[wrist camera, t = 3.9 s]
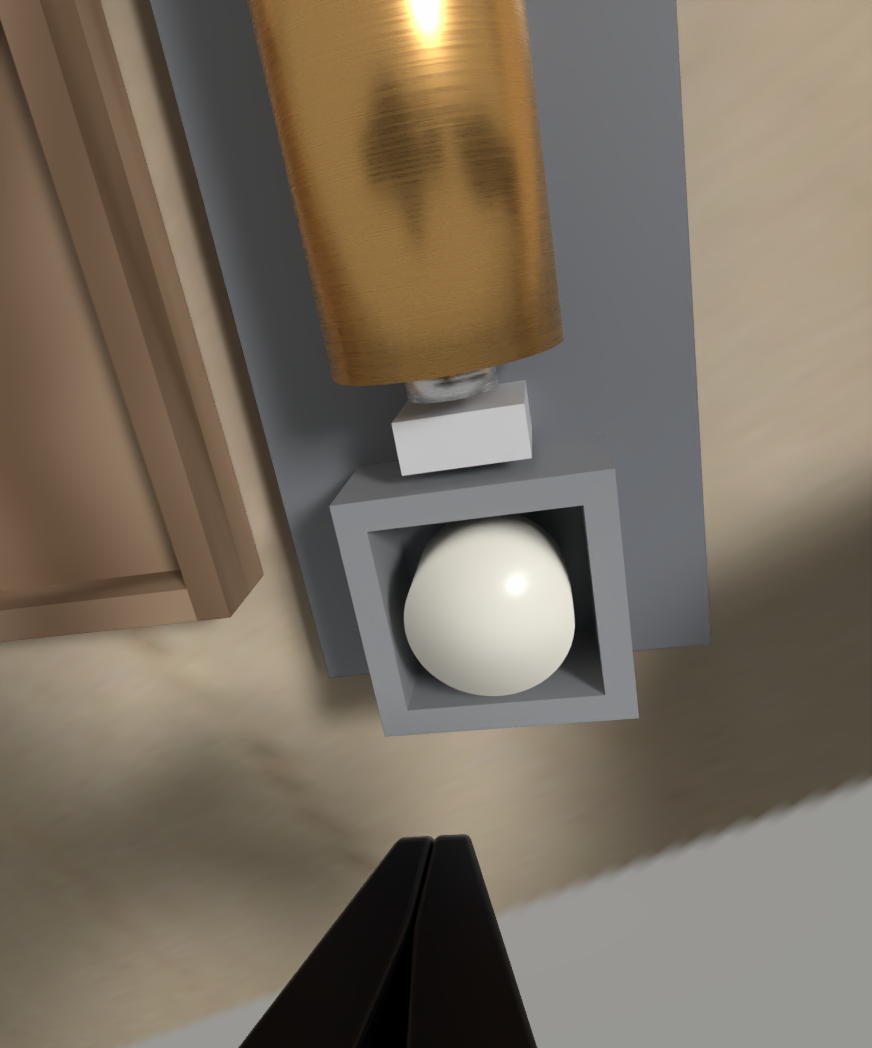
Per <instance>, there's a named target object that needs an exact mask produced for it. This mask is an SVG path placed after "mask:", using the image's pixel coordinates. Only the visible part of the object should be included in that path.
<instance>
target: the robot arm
mask: <svg viewBox="0 0 872 1048" xmlns="http://www.w3.org/2000/svg"><path fill="white" fill-rule="evenodd" d="M239 1048H537V1046H536V1043H535V1040H534V1037H533V1033H532V1030H531V1027H530V1024H529V1021H528V1018H527V1015H526V1011H525V1008H524V1005H523V1002H522V999H521V995H520V993H519V989H518V986H517V983H516V980H515V977H514V974H513V970H512V967H511V964H510V961H509V958H508V954H507V952H506V948H505V945H504V942H503V939H502V936H501V932H500V930H499V926H498V923H497V920H496V917H495V913H494V910H493V907H492V904H491V901H490V898H489V894H488V891H487V888H486V885H485V882H484V879H483V876H482V872H481V869H480V866H479V863H478V860H477V857H476V853H475V850H474V847H473V844H472V841H471V839H470V837H469V836H468V835H465V834H461V835H441V836H438V837H437V838H436V839H435V840H434V839H433V838H432V837H429V836H422V837H404V838H401V839H399V840H398V841H397V842H396V843H395V844H394V845H393V847H392V848H391V849H390V851H389V852H388V853H387V855H386V856H385V857H384V859H383V860H382V861H381V862H380V864H379V865H378V866H377V868H376V869H375V870H374V872H373V873H372V874H371V875H370V877H369V878H368V879H367V881H366V882H365V883H364V885H363V886H362V887H361V889H360V890H359V891H358V892H357V894H356V895H355V896H354V898H353V899H352V900H351V902H350V903H349V904H348V905H347V907H346V908H345V909H344V911H343V912H342V913H341V915H340V916H339V917H338V919H337V920H336V921H335V922H334V924H333V925H332V926H331V928H330V929H329V930H328V932H327V933H326V934H325V935H324V937H323V938H322V939H321V941H320V942H319V943H318V945H317V946H316V947H315V949H314V950H313V951H312V952H311V954H310V955H309V956H308V958H307V959H306V960H305V962H304V963H303V964H302V966H301V967H300V968H299V969H298V971H297V972H296V973H295V975H294V976H293V977H292V979H291V980H290V981H289V982H288V984H287V985H286V986H285V988H284V989H283V990H282V992H281V993H280V994H279V996H278V997H277V998H276V999H275V1001H274V1002H273V1003H272V1005H271V1006H270V1007H269V1009H268V1010H267V1011H266V1012H265V1014H264V1015H263V1017H262V1018H261V1019H260V1020H259V1022H258V1023H257V1024H256V1026H255V1027H254V1028H253V1029H252V1031H251V1032H250V1033H249V1035H248V1036H247V1037H246V1039H245V1040H244V1041H243V1043H242V1044H241V1045H240V1046H239Z"/></svg>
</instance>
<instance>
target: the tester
mask: <svg viewBox="0 0 872 1048" xmlns="http://www.w3.org/2000/svg"><path fill="white" fill-rule="evenodd" d="M150 3H151V6H152V10H153V14H154V18H155V22H156V25H157V29H158V33H159V37H160V40H161V44H162V48H163V52H164V56H165V59H166V63H167V67H168V71H169V74H170V78H171V82H172V86H173V89H174V93H175V97H176V101H177V105H178V108H179V112H180V116H181V120H182V123H183V127H184V131H185V135H186V139H187V142H188V146H189V150H190V154H191V157H192V161H193V165H194V169H195V173H196V176H197V180H198V184H199V188H200V191H201V195H202V199H203V203H204V206H205V210H206V214H207V218H208V222H209V225H210V229H211V233H212V237H213V240H214V244H215V248H216V252H217V256H218V259H219V263H220V267H221V271H222V274H223V278H224V282H225V286H226V290H227V293H228V297H229V301H230V305H231V308H232V312H233V316H234V320H235V323H236V327H237V331H238V335H239V339H240V342H241V346H242V350H243V354H244V357H245V361H246V365H247V369H248V373H249V376H250V380H251V384H252V388H253V391H254V395H255V399H256V403H257V407H258V410H259V414H260V418H261V422H262V425H263V429H264V433H265V437H266V440H267V444H268V448H269V452H270V456H271V459H272V463H273V467H274V471H275V474H276V478H277V482H278V486H279V490H280V493H281V497H282V501H283V505H284V508H285V512H286V516H287V520H288V524H289V527H290V531H291V535H292V539H293V542H294V546H295V550H296V554H297V557H298V561H299V565H300V569H301V573H302V576H303V580H304V584H305V588H306V591H307V595H308V599H309V603H310V607H311V610H312V614H313V618H314V622H315V625H316V629H317V633H318V637H319V641H320V644H321V648H322V652H323V656H324V659H325V663H326V667H327V671H328V675H329V678H331V677H342V676H353V675H365V674H370V676H371V680H372V684H373V689H374V693H375V697H376V701H377V705H378V709H379V713H380V717H381V722H382V726H383V730H384V734H385V737H387V736H401V735H415V734H429V733H442V732H456V731H470V730H484V729H498V728H512V727H525V726H539V725H553V724H567V723H581V722H595V721H609V720H622V719H636V718H639V711H638V701H637V691H636V681H635V670H634V660H633V651H637V650H649V649H660V648H671V647H683V646H694V645H705V644H711V633H710V615H709V596H708V578H707V560H706V541H705V523H704V504H703V486H702V468H701V449H700V431H699V412H698V394H697V376H696V357H695V339H694V320H693V302H692V284H691V265H690V247H689V228H688V210H687V192H686V173H685V155H684V136H683V118H682V99H681V81H680V63H679V44H678V26H677V7H676V0H525V3H526V11H527V20H528V29H529V38H530V46H531V55H532V64H533V72H534V81H535V90H536V99H537V107H538V116H539V125H540V133H541V142H542V151H543V160H544V168H545V177H546V186H547V195H548V203H549V212H550V221H551V229H552V238H553V247H554V256H555V264H556V273H557V282H558V290H559V299H560V308H561V317H562V325H563V334H564V340H563V341H562V343H560V344H559V345H557V346H555V347H553V348H551V349H549V350H547V351H544V352H541V353H539V354H536V355H533V356H530V357H527V358H523V359H520V360H517V361H513V362H509V363H505V364H502V365H498V366H496V372H497V379H498V386H497V387H495V388H494V389H492V390H490V391H487V392H484V393H481V394H478V395H475V396H471V397H467V398H462V399H457V400H452V401H445V402H437V403H413V402H410V401H408V396H407V391H406V386H405V382H404V383H395V384H385V385H369V386H349V385H341V384H337V383H335V382H334V381H333V378H332V374H331V369H330V365H329V360H328V356H327V351H326V347H325V343H324V338H323V334H322V329H321V325H320V320H319V316H318V312H317V307H316V303H315V298H314V294H313V289H312V285H311V281H310V276H309V272H308V267H307V263H306V258H305V254H304V250H303V245H302V241H301V236H300V232H299V228H298V223H297V219H296V214H295V210H294V205H293V201H292V197H291V192H290V188H289V183H288V179H287V174H286V170H285V166H284V161H283V157H282V152H281V148H280V143H279V139H278V135H277V130H276V126H275V121H274V117H273V113H272V108H271V104H270V99H269V95H268V90H267V86H266V82H265V77H264V73H263V68H262V64H261V59H260V55H259V51H258V46H257V42H256V37H255V33H254V28H253V24H252V20H251V15H250V11H249V6H248V2H247V0H150ZM508 514H517V515H520V516H523V517H525V518H527V519H529V520H532V521H533V522H535V523H536V524H538V525H540V526H541V527H542V528H543V529H545V530H546V531H547V532H548V533H549V534H550V535H551V536H552V537H553V538H554V539H555V541H556V542H557V543H558V545H559V546H560V548H561V550H562V551H563V553H564V555H565V558H566V561H567V563H568V568H569V573H570V581H571V590H572V599H573V608H574V619H575V629H574V637H573V641H572V645H571V647H570V650H569V652H568V654H567V656H566V658H565V659H564V661H563V662H562V664H561V665H560V666H559V667H558V669H557V670H556V671H555V672H554V673H553V674H552V675H551V676H549V677H548V678H547V679H545V680H544V681H543V682H541V683H540V684H538V685H536V686H534V687H532V688H530V689H527V690H525V691H522V692H519V693H515V694H511V695H504V696H482V695H475V694H470V693H466V692H463V691H460V690H457V689H455V688H453V687H451V686H448V685H447V684H445V683H443V682H442V681H440V680H438V679H437V678H436V677H434V676H433V675H432V674H431V673H430V672H429V671H427V670H426V669H425V668H424V667H423V665H422V664H421V663H420V662H419V660H418V659H417V658H416V656H415V654H414V653H413V651H412V649H411V647H410V645H409V643H408V640H407V636H406V633H405V627H404V609H405V603H406V599H407V596H408V593H409V590H410V587H411V584H412V581H413V578H414V576H415V573H416V570H417V567H418V564H419V561H420V558H421V555H422V553H423V551H424V549H425V547H426V545H427V544H428V542H429V541H430V539H431V538H432V537H433V536H434V535H435V533H436V532H437V531H438V530H440V529H441V528H442V527H443V526H444V525H446V524H447V523H449V522H452V521H460V520H468V519H476V518H484V517H492V516H500V515H508Z"/></svg>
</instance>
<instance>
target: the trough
mask: <svg viewBox="0 0 872 1048" xmlns="http://www.w3.org/2000/svg"><path fill="white" fill-rule="evenodd" d="M263 575H264V574H263V571H262V567H261V564H260V560H259V557H258V553H257V550H256V546H255V543H254V539H253V536H252V532H251V529H250V525H249V522H248V518H247V515H246V511H245V508H244V504H243V501H242V497H241V494H240V490H239V486H238V483H237V479H236V476H235V472H234V469H233V465H232V462H231V458H230V455H229V451H228V448H227V444H226V441H225V437H224V434H223V430H222V427H221V423H220V420H219V416H218V413H217V409H216V406H215V402H214V399H213V395H212V392H211V388H210V385H209V381H208V378H207V374H206V371H205V367H204V364H203V360H202V357H201V353H200V350H199V346H198V343H197V339H196V336H195V332H194V329H193V325H192V322H191V318H190V315H189V311H188V307H187V304H186V300H185V297H184V293H183V290H182V286H181V283H180V279H179V276H178V272H177V269H176V265H175V262H174V258H173V255H172V251H171V248H170V244H169V241H168V237H167V234H166V230H165V227H164V223H163V220H162V216H161V213H160V209H159V206H158V202H157V199H156V195H155V192H154V188H153V185H152V181H151V178H150V174H149V171H148V167H147V164H146V160H145V157H144V153H143V150H142V146H141V143H140V139H139V136H138V132H137V128H136V125H135V121H134V118H133V114H132V111H131V107H130V104H129V100H128V97H127V93H126V90H125V86H124V83H123V79H122V76H121V72H120V69H119V65H118V62H117V58H116V55H115V51H114V48H113V44H112V41H111V37H110V34H109V30H108V27H107V23H106V20H105V16H104V13H103V9H102V6H101V2H100V0H0V642H3V641H13V640H22V639H31V638H41V637H50V636H60V635H69V634H79V633H88V632H98V631H107V630H117V629H126V628H135V627H145V626H154V625H164V624H173V623H183V622H192V621H202V620H211V619H220V618H230V617H231V616H232V615H233V613H234V612H235V611H236V610H237V608H238V607H239V606H240V605H241V603H242V602H243V601H244V599H245V598H246V597H247V596H248V594H249V593H250V592H251V590H252V589H253V588H254V587H255V585H256V584H257V583H258V582H259V580H260V579H261V578H262V576H263Z"/></svg>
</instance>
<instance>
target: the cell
mask: <svg viewBox="0 0 872 1048" xmlns="http://www.w3.org/2000/svg"><path fill="white" fill-rule="evenodd" d="M247 2H248V6H249V11H250V15H251V20H252V24H253V28H254V33H255V37H256V42H257V46H258V51H259V55H260V59H261V64H262V68H263V73H264V77H265V82H266V86H267V90H268V95H269V99H270V104H271V108H272V113H273V117H274V121H275V126H276V130H277V135H278V139H279V143H280V148H281V152H282V157H283V161H284V166H285V170H286V174H287V179H288V183H289V188H290V192H291V197H292V201H293V205H294V210H295V214H296V219H297V223H298V228H299V232H300V236H301V241H302V245H303V250H304V254H305V258H306V263H307V267H308V272H309V276H310V281H311V285H312V289H313V294H314V298H315V303H316V307H317V312H318V316H319V320H320V325H321V329H322V334H323V338H324V343H325V347H326V351H327V356H328V360H329V365H330V369H331V374H332V378H333V381H334V382H335V383H337V384H341V385H349V386H369V385H385V384H395V383H404V382H405V386H406V391H407V396H408V401H410V402H413V403H437V402H445V401H452V400H457V399H462V398H467V397H471V396H475V395H478V394H481V393H484V392H487V391H490V390H492V389H494V388H495V387H497V386H498V379H497V372H496V366H498V365H502V364H505V363H509V362H513V361H517V360H520V359H523V358H527V357H530V356H533V355H536V354H539V353H541V352H544V351H547V350H549V349H551V348H553V347H555V346H557V345H559V344H560V343H562V341H563V340H564V334H563V325H562V317H561V308H560V299H559V290H558V282H557V273H556V264H555V256H554V247H553V238H552V229H551V221H550V212H549V203H548V195H547V186H546V177H545V168H544V160H543V151H542V142H541V133H540V125H539V116H538V107H537V99H536V90H535V81H534V72H533V64H532V55H531V46H530V38H529V29H528V20H527V11H526V3H525V0H247Z"/></svg>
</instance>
